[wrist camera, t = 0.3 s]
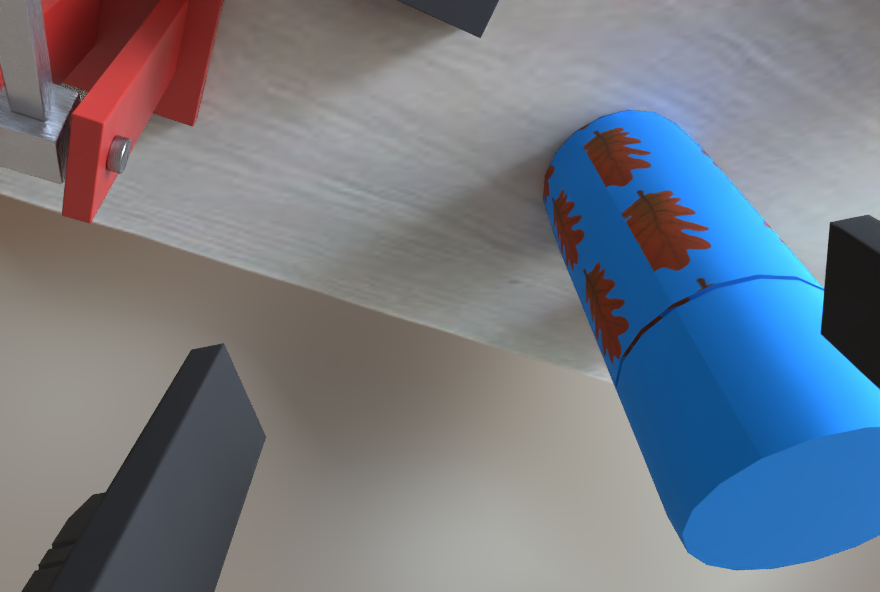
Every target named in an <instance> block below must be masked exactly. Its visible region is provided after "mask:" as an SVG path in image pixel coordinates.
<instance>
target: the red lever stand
mask: <svg viewBox="0 0 880 592" xmlns="http://www.w3.org/2000/svg"><path fill="white" fill-rule="evenodd" d="M223 2H224V0H41V4H42V11H43V18H44V25H45V32H46V39H47V46H48V53H49V60H50V68H51V75H52V82H53V84H56V85H59V86H60V85H61V84H62V83H65V84H68V85H71V86H74V87H77V88H80V89H83V90H86V91H89V92H88V94H87V95H86V96H85V97H84V99H83V100H82V101H81V102H80V104H79V105H78V106H77V108H76V109H75V110H74V111H73V113H72V117H71V127H70V137H69V148H68V158H67V168H66V178H65V188H64V198H63V209H62V216H65V217H69V218H72V219H76V220H80V221H84V222H87V223H91V222H92V220H93V218H94V216H95V215H96V213H97V211H98V209H99V207H100V206H101V204H102V202H103V200H104V199H105V197H106V195H107V193H108V191H109V190H110V188H111V186H112V184H113V183H114V181H115V179H116V177H117V175H118V174H121V173H122V172H123V171H124V169H125V166H126V164H127V161H128V157H129V154H130V152H131V151H132V149H133V147H134V145H135V143H136V142H137V140H138V138H139V136H140V135H141V133H142V131H143V129H144V127H145V126H146V124H147V122H148V120H149V119H150V117H151V115H152V113H154V114H157V115H160V116H163V117H166V118H169V119H172V120H175V121H178V122H181V123H184V124H187V125H190V126H194V124H195V121H196V119H197V116H198V112H199V107H200V103H201V98H202V94H203V90H204V85H205V81H206V77H207V72H208V68H209V63H210V59H211V55H212V50H213V46H214V42H215V37H216V33H217V28H218V24H219V20H220V15H221V11H222V6H223ZM3 84H4V81H3V77H2V73H1V68H0V90H1V88H2V86H3Z"/></svg>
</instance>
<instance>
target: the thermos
mask: <svg viewBox="0 0 880 592" xmlns="http://www.w3.org/2000/svg"><path fill="white" fill-rule="evenodd" d="M543 201H544V204H545V207H546V210H547V214H548V217H549V220H550V224H551V227H552V230H553V233H554V236H555V239H556V241H557V244H558V247H559V250H560V252H561V255H562V257H563V260H564V262H565V265H566V267H567V270H568V272H569V275H570V277H571V280H572V282H573V285H574V287H575V289H576V292H577V294H578V297H579V299H580V302H581V304H582V307H583V309H584V312H585V314H586V317H587V319H588V321H589V324H590V326H591V329H592V331H593V334H594V336H595V339H596V341H597V344H598V346H599V349H600V351H601V354H602V356H603V358H604V361H605V363H606V366H607V368H608V371H609V373H610V376H611V378H612V381H613V383H614V386H615V388H616V390H617V393H618V395H619V398H620V400H621V403H622V405H623V407H624V410H625V413H626V415H627V418H628V420H629V422H630V425H631V427H632V430H633V432H634V435H635V437H636V440H637V442H638V445H639V447H640V449H641V452H642V454H643V457H644V459H645V462H646V464H647V467H648V469H649V472H650V474H651V477H652V479H653V481H654V484H655V487H656V489H657V492H658V494H659V496H660V499H661V501H662V504H663V506H664V509H665V511H666V514H667V516H668V518H669V520H670V522H671V523H672V525H673V527H674V529H675V531H676V532H677V534H678V536H679V538H680V539H681V541H682V543H683V544H684V546H685V548H686V550H687V552H688V553H689V554H691V555H692V556H694V557H695V558H697V559H699V560H700V561H702V562H703V563H705V564H706V565H711V566H717V567H721V568H727V569H732V570H754V569H774V568H779V567H784V566H789V565H794V564H800V563H805V562H810V561H814V560H818V559H820V558H824V557H826V556H830V555H832V554H836V553H839V552H841V551H844V550H848V549H851V548H853V547H856V546H858V545H860V544H862V543H864V542H866V541H868V540H871V539H873V538H875V537H877V536H879V535H880V389H878V388H877V387H876V386H875V385H874V384H873V383H872V382H871V381H870V380H869V379H868V378H867V377H866V376H865V375H864V374H863V373H861V372H860V371H859V370H858V369H857V368H856V367H855V366H854V365H853V364H852V363H851V362H850V361H849V360H848V359H847V358H846V357H844V356H843V355H842V354H841V353H840V352H839V351H838V350H837V349H836V348H835V347H834V346H833V345H832V344H831V343H830V342H829V341H827V340H826V339H825V338H824V337H823V336H822V335H821V322H822V311H823V299H824V288H823V287H822V286H821V285H820V284H819V283H818V281H817V280H816V279H815V278H814V277H813V276H812V274H811V273H810V272H809V271H808V270H807V269H806V268H805V266H804V265H803V264H802V263H801V262H800V261H799V259H798V258H797V257H796V256H795V255H794V254H793V253H792V251H791V250H790V249H789V248H788V247H787V246H786V244H785V243H784V242H783V241H782V240H781V239H780V238H779V236H778V235H777V234H776V233H775V232H774V231H773V229H772V228H771V227H770V226H769V225H768V224H767V223H766V221H765V220H764V219H763V218H762V217H761V216H760V214H759V213H758V212H757V211H756V210H755V209H754V207H753V206H752V205H751V204H750V203H749V202H748V201H747V199H746V198H745V197H744V196H743V195H742V194H741V192H740V191H739V190H738V189H737V188H736V187H735V186H734V184H733V183H732V182H731V181H730V180H729V179H728V177H727V176H726V175H725V174H724V173H723V172H722V171H721V169H720V168H719V167H718V166H717V165H716V164H715V162H714V161H713V160H712V159H711V158H710V157H709V156H708V154H707V153H706V152H705V151H704V150H703V149H702V148H701V147H700V146H699V145H698V144H697V143H696V142H695V141H694V140H693V139H692V138H691V137H690V136H689V135H688V134H687V133H685V132H684V131H683V130H682V129H681V128H680V127H679V126H678V125H677V124H676V123H674V122H672V121H670V120H668V119H667V118H665V117H663V116H661V115H659V114H657V113H655V112H645V111H633V110H627V111H623V112H619V113H615V114H611V115H607V116H603V117H600V118H598V119H596V120H595V121H593V122H591V123H590V124H588V125H586V126H585V127H583V128H581V129H580V130H578V131H576V132H575V133H574V134H573V135H572V136H571V137H570V138H569V139H568V140H567V141H566V142H565V144H564V145H563V146H562V147H561V148H560V149H559V150H558V151H557V152H556V153H555V156H554V158H553V160H552V162H551V164H550V166H549V168H548V170H547V173H546V175H545V180H544V192H543Z"/></svg>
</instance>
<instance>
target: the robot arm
mask: <svg viewBox="0 0 880 592" xmlns="http://www.w3.org/2000/svg"><path fill="white" fill-rule="evenodd" d="M821 335H822V336H823V337H824V338H825V339H826V340H827V341H829V342H830V343H831V344H832V345H833V346H834V347H835V348H836V349H837V350H838V351H839V352H840V353H841V354H842V355H843V356H844V357H846V358H847V359H848V360H849V361H850V362H851V363H852V364H853V365H854V366H855V367H856V368H857V369H858V370H859V371H860V372H861V373H863V374H864V375H865V376H866V377H867V378H868V379H869V380H870V381H871V382H872V383H873V384H874V385H875V386H876V387H877V388H878V389H880V221H879V220H877V219H875V218H873V217H872V216H870V215H864V216H859V217H854V218H849V219H844V220H839V221H834V222H830V229H829V241H828V252H827V264H826V276H825V287H824V299H823V311H822V322H821ZM265 438H266V436H265V434H264V431H263V429H262V427H261V425H260V423H259V420H258V418H257V416H256V414H255V411H254V409H253V407H252V405H251V402H250V400H249V398H248V396H247V394H246V391H245V389H244V387H243V385H242V382H241V380H240V378H239V376H238V374H237V372H236V369H235V367H234V365H233V362H232V360H231V358H230V356H229V353H228V352H227V349H226V347H225V345H224V343H223V344H218V345H213V346H208V347H203V348H198V349H193V350H191V351H190V353H189V355H188V356H187V358H186V360H185V361H184V363H183V365H182V366H181V368H180V370H179V372H178V373H177V375H176V376H175V378H174V380H173V382H172V383H171V385H170V386H169V388H168V390H167V391H166V393H165V395H164V396H163V398H162V400H161V401H160V403H159V404H158V406H157V408H156V410H155V411H154V413H153V415H152V416H151V418H150V419H149V421H148V423H147V425H146V426H145V428H144V429H143V431H142V433H141V434H140V436H139V438H138V439H137V441H136V443H135V444H134V446H133V448H132V449H131V451H130V453H129V454H128V456H127V458H126V459H125V461H124V463H123V465H122V466H121V468H120V470H119V471H118V473H117V474H116V476H115V478H114V479H113V481H112V483H111V484H110V486H109V488H108V489H107V491H106V492H105V493H100V494H94V495H92V496H91V497H90V498H89V499H88V500H87V501H86V502H85V503H84V504H83V505H82V506H81V507H80V508H79V509H78V510H77V511H76V512H75V513H74V514H73V515H72V516H71V517H69V518H68V520H67V522H66V523H65V525H64V526H63V528H62V529H61V531H60V533H59V534H58V535H57V537H56V539H55V540H54V542H53V544H52V549H49V550H48V551H47V553H46V554H45V556H44V557H43V559H42V560H41V562H40V564H39V565H38V566H39V570H37V571H34V573H33V575H32V576H31V578H30V579H29V581H28V582H27V584H26V585H25V587H24V589H23V590H22V592H214V591H215V588H216V585H217V582H218V579H219V576H220V573H221V570H222V567H223V564H224V561H225V558H226V555H227V552H228V549H229V546H230V543H231V540H232V537H233V534H234V531H235V528H236V525H237V522H238V519H239V516H240V513H241V510H242V507H243V504H244V501H245V498H246V495H247V492H248V489H249V486H250V483H251V480H252V477H253V474H254V471H255V468H256V465H257V462H258V459H259V456H260V453H261V450H262V447H263V444H264V441H265Z"/></svg>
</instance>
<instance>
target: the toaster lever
mask: <svg viewBox="0 0 880 592" xmlns="http://www.w3.org/2000/svg"><path fill="white" fill-rule="evenodd" d="M0 68H1V73H2V77H3V81H4V84H3V86H2V88H1V90H0V167H4V168H7V169H11V170H14V171H18V172H21V173H25V174H28V175H32V176H35V177H39V178H42V179H46V180H49V181H53V182H56V183H59V184H62V183H63V182H64V179H65V177H66V168H67V158H68V148H69V137H70V127H71V117H72V113H73V111H74V110H75V109H76V108H77V106H78V105H79V104H80V97H79V92H77V91H74V90H71V89H68V88H65V87H62V86H59V85H56V84H53V82H52V75H51V68H50V60H49V53H48V46H47V39H46V32H45V25H44V18H43V11H42V4H41V0H0Z"/></svg>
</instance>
